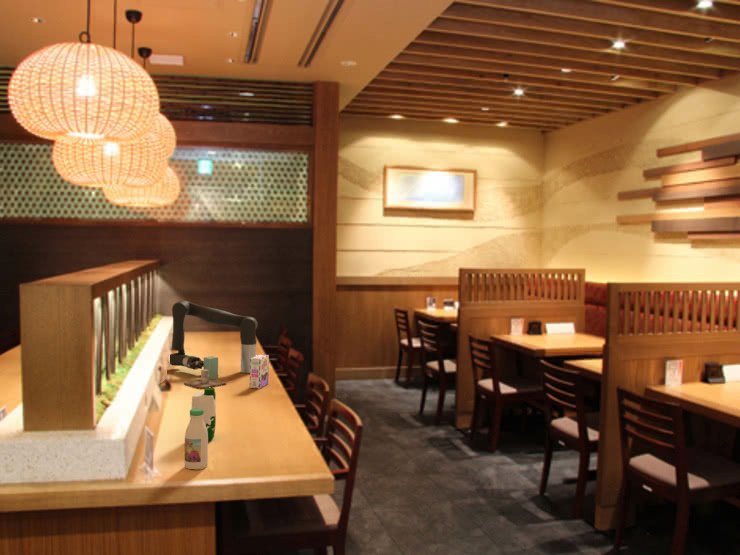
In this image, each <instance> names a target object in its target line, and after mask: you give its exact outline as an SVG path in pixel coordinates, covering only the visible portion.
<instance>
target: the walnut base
mask: <svg viewBox="0 0 740 555" xmlns="http://www.w3.org/2000/svg"><path fill="white" fill-rule="evenodd" d="M200 372H201V374H200V376H201V377H200V379H198V380H193V381H187V382H186V381H185V382H184V383H183V384H185V385H184V386H188V385H189V387H191V386H192V388H195V387H196V388H195V389H198V388H200V389H199V390H204V389H203V388H209V387H211V388H216V387H215V386H217V387H221V385H222V386H226V385H227V382H224V381H220V380H217V379H209V370H204V369H200Z"/></svg>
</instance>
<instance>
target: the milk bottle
mask: <svg viewBox="0 0 740 555" xmlns="http://www.w3.org/2000/svg"><path fill="white" fill-rule="evenodd" d="M203 414H204V410H203V409H200V408H195V409H192V408H191V409H190V410H189V417H190V419H189V423H188V425H187V427H186V430H185V433H184V434H185V435H184V468H185V467H186V468H188V469H187V470H189V469H200V470H203V468H204V469H206V468H207V467H208V465H209V463H208V462H209V442H208V432H207V428H206V426H205V423H204V421H203V416H204V415H203ZM205 467H206V468H205ZM186 468H185V469H186Z"/></svg>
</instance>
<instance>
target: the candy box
mask: <svg viewBox="0 0 740 555" xmlns="http://www.w3.org/2000/svg"><path fill="white" fill-rule="evenodd" d="M269 363H270V356H269V354H258V355H256V357H253V358H250V373H249V389H254V390H257V389H259V390H260V389H262V388H264V387H265V385H266V386H267V385H269V369H270V368H269V366H270V364H269Z"/></svg>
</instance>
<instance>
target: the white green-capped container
mask: <svg viewBox="0 0 740 555" xmlns="http://www.w3.org/2000/svg"><path fill="white" fill-rule="evenodd" d="M215 388H216V387H211V388H205V389H203V391H196V392H195V393H193V395H192V398H191V409H195V408H200V409H203V410H204V414H203V415H204V416H203V421H204V423H205V426H206V428H207V432H208V441H211V442H212V441H213V439H214V437H215V434H216V433H215V431H216V424H217V422H216V421H217V418H216V416H217V415H216V412H217V411H216V410H217V409H216V408H217V405H216V404H217V403H216V402H217V399H216V397H217V393H216V391H215Z"/></svg>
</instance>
